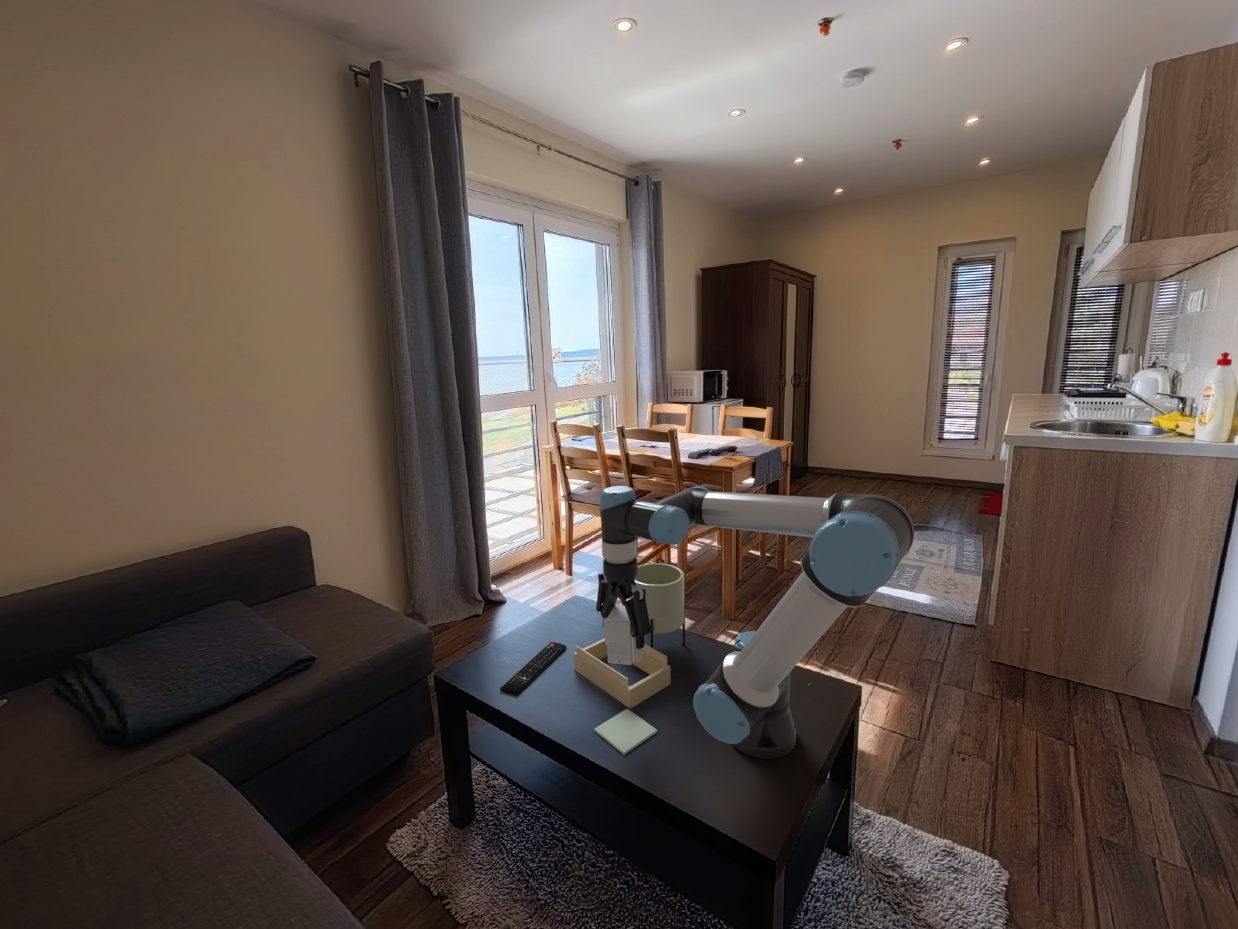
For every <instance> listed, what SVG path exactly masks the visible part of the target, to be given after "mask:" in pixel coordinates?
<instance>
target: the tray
mask: <svg viewBox="0 0 1238 929" xmlns="http://www.w3.org/2000/svg"><path fill="white" fill-rule="evenodd" d="M644 645H645V646H644V647H643V653H644V658H643V659H641V660H639V661H637V662H635V663H634V662H633V663H632V666H633V665H634V666H635V667H637V668H639V669H640V670H642V671H643V672H645V673H647V674H649V675H648V676H646V677H644V678H642V679H640V680H639V681H637V682H636V683H634V684H632V685H629V678H628V677H626V676H625V675H623V674H622V673H621V672H619V671H618V670H615V669H614V668H612V667H611V666H610V665H608V664H607V663H604V662H603V661H601V660H602V659H604V658H606V657H608V655H607V645H606V644H605V637H603V638H602V639H599V640H597V641H596V642H594V643H592V644H590V645H588V646H585V647H584V648H581V647H579V645H576V646H575V652H573V659H574V660H573V662H574V663H573V664H574V665H573V666H574V671H575V672H577V673H579V674H580V675H582V676H583V677H584V678H585V679H587V680H589V682H591V683H593V685H596V686H597V687H599V688H600V689H601V690H603V691H604V692H605V693H606V694H609V695H610V696H611V697H613V698H614V699H616V700H617V701H619V702H620V703H621V704H623V705H624V706H625V707H627V709H629V710H632V708H634V707H636V706H638V705H639V704H641V703H642V702H645V701H646V700H647V699H649V698H651V697H652V696H653V695H655V694H657V693H658V692H660V691H662V690H663V689H665V688H667V687H668V686H670V685H671V684H672V683H671V682H672V679H671V678H672V677H671V665H669V664H668V656H667V655H666V654H663V653H661V652H660V651H658V650H656V649H653V648H651V646H649V645H647V644H646V643H644Z"/></svg>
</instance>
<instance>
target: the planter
mask: <svg viewBox="0 0 1238 929" xmlns="http://www.w3.org/2000/svg"><path fill="white" fill-rule="evenodd" d="M637 566H638V572H637V575H636V576H635V579H634V580H635V584H636V587H637V588H639V589H642V588H644V589H645V590H646V598H645V599H646V605H647V610H648V616H649V621H650V626H651V633H650V647H651V648H653V649H654V647H655V646H654V637H655V635H661V634H668V633H672V632H675V631H677V630H679V629H680V628H681V636H682V638H681V643H682V645H683V646H685V645H686V601H685V573H684V571H683V570H682V569H681V568H679V567H678V566H677V565H672V564H668V563H663V562H661V563H660V562H658V563H657V562H653V563H652V562H651V563H645V564H640V565H637ZM630 599H631V597H630V598H628V600H630Z"/></svg>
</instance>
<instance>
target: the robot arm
mask: <svg viewBox="0 0 1238 929" xmlns="http://www.w3.org/2000/svg"><path fill="white" fill-rule="evenodd" d="M635 491H636V490H635V489H634V488H633V487H630V486H627V485H616V486H608V487H606V488H604V489H602V490H601V492H600V499H599V514H600V525H601V553H602V554H601V555H602V557H603V559H602V573H601V572H600V573H598V575H597V580H598V587H597V596H596V597H597V598H596V608H595V610H596V612H597V613H599V612H600V615H601V617H602V626H603V630H604V631H603V632H604V635H603V636H604V637H603V638H605V644H606V645H607V636H606V619H607V618H608V616H609V614H610V612H611V610H612V608H613V606H614V605H615V604H617V601H618V599H619V600H620V602H621V604H622V605H623V606H625V608H626V611H627V614H628V617H629V620H630V622H631V627H632V630H633V634H631V645H632V662H634V663H635V662H637V661H639V660H641V659H643V658H644V653H643V647H644V646H645V645H644V644H645V636H646V635H649V634H651V626H650V621H649V616H648V610H647V605H646V599H645V598H646V590H645V589H644V588H642V589H639V588H637V587H636V584H635V580H634V579H635V576H636V575H637V572H638V566H639V565H638V558H637V556H638V548H637V546H638V545H637V538H641V539H645V540H649V541H652V542H656V543H659V544H662V545H663V544H666V545H672V546H673V545H674V546H675V545H678V544H680V543H682V542H683V540H684V538H685V537H686V536H687V534H688V532H689V527H692V526H703V527H712V528H713V527H715V528H723V529H733V530H742V531H749V532H750V531H751V532H760V533H769V534H777V535H778V534H779V535H789V536H796V537H807V538H812V540H811V543H810V546H809V547H808V549H806V551H805V552H804V553H803V555H802V556H801V558H800V567H801V570H802V572H801V574H800V575H799V576H798V577H797V578H796V580H795V581H794V583H792V585H791V586H790V588H789V589H788V590H787V592H786V593H785V594H784V595H783V597H782V598H781V599H780V600H779V601H778V603H777V604H776V605H775V607H774V608H773V610H772V611H771V612H770V613H769V615H768V616H767V617H766V619H765V620H764V621H763V622H762V623H761V624H760V626H759V627H758V629H757V630H756V631H755V630H752V631H751V630H750V631H744V632H742V633H739V634H738V635H737V636H736V637H735V641H734V643H733V646H734V651H732V652H729V653H728V654H727V655H726V656H725V657H724V658H723V660H722V662H720V664H719V665H718V666H717V668H716V669H715V671H714V672H713V673H712V674H711V675H710V677H709V678H708V679H707V680H706V681H705V682H704V683H703V684H700V685H699V686H698V688H697V690H696V692H695V693H694V696H693V697H692V698H693V699H692V704H693V705H692V706H693V710H694V712H695V717H696V719H697V720H698V722H699V723H700V725H701V726H702V728H703V729H705V731H706V732H707V733H708V734H709V735H710V736H711V737H713V738H715V739H716V740H718V741H720V742H723V743H725V744H728V745H731V746H733V748H735V749H736V750H738V751H740V752H741V753H743V754H744V755H748V756H750V757H752V758H757V759H764V760H765V759H766V760H772V759H779V758H782V757H785V756H786V755H789V753H791V752H792V750H793V749H794V748H795V746H796V742H797V727H796V723H795V722H794V719H793V714H792V712H791V709H790V694H791V692H790V690H791V675H792V674H791V673H792V670H793V669H794V668H795V667H796V666H797V665H798V664H799V662H800V661H801V660H802V659H803V657H805V655H806V654H807V653H808V652H809V651H810V650H811V648H813V647H814V645H815V644H816V643H817V642H818V641H819V640H820V639H821V637H822V636H824V634H825V633H826V631H827V630H828V629H829V628H831V626H832V625H833V623H834V622H835V621H836V620H837V619H838V618H839V617H840V615H841V614H843V612H844V611H845V610H846V609H847V608H861V607H862V606H864V604H865V603H866V602H867V601H868V600H869V599H870V598H871V597H872V596H873V594H874V593H875V592H876V591H878V590H879V588H883V587H884V586H885V585H886V584H887V583H888V581H889V580H890V579H891V578H892V576H893V575H894V573H895V572H896V569H897V567H898V566H899V565H900V563H901V561H902V560H903V558H904V557H905V556H906V555H907V554H908V553H909V551H910V549H911V547H912V545H913V544H914V541H915V540H914V539H915V527H914V526H915V525H914V522H913V520H912V517H911V515H910V514H909V512H908V510H907V509H906V508H905V507H904V506H903V505H902V504H900V503H899V502H897V501H896V500H894V499H892V498H890V497H888V496H884V495H880V494H872V493H870V494H869V493H868V494H867V493H844V492H842V493H841V492H836V493H834V494H832V495H831V496H830V497H819V496H817V497H813V496H798V495H777V494H766V493H765V494H764V493H763V494H762V493H761V494H760V493H749V492H748V493H746V492H745V493H742V492H727V491H726V492H725V491H713V490H710V489H708V488H707V487H705V486H701V485H700V486H699V485H697V486H693V487H688V488H685V489H683V490H682V491H680V492H677V493H676V494H673V495H671V496H668V497H666V498H664V499H661V500H658V501H657V502H652V501H651V502H649V501H643V500H641V499H639V500H638V499H636V498H637V496H636V492H635ZM630 597H631V599H630V600H629V598H630Z"/></svg>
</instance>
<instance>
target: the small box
mask: <svg viewBox="0 0 1238 929" xmlns="http://www.w3.org/2000/svg"><path fill="white" fill-rule="evenodd" d="M631 634H633V630H632V627H631V622H630V620H629V617H628V614H627V611H626V608H625V606H623V605H622V603H619V604H617V603H616V604H615V605H614V606H613V608H612V610H611V612H610V614H609V616H608V618H607V619H606V636H607V655H608V656H607V663H608V664H614V665H617V664H618V665H626V666H633V664H632V663H633V662H632V645H631Z"/></svg>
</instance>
